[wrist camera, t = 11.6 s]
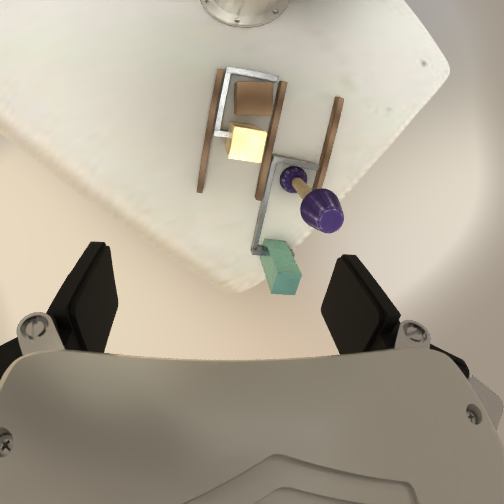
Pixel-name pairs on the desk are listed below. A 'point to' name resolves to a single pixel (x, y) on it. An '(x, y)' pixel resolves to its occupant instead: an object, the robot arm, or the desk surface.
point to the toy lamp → (313, 201)
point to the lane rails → (272, 138)
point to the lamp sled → (274, 251)
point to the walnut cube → (253, 98)
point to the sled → (242, 135)
